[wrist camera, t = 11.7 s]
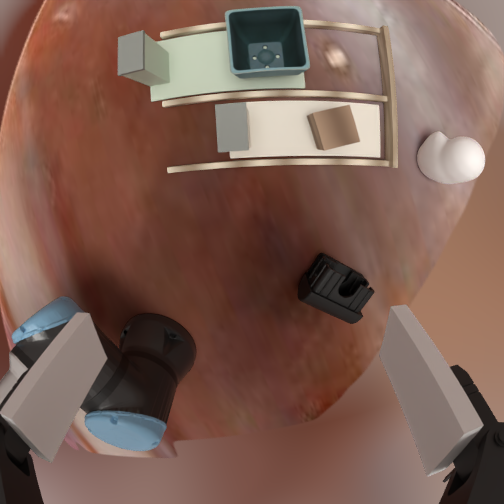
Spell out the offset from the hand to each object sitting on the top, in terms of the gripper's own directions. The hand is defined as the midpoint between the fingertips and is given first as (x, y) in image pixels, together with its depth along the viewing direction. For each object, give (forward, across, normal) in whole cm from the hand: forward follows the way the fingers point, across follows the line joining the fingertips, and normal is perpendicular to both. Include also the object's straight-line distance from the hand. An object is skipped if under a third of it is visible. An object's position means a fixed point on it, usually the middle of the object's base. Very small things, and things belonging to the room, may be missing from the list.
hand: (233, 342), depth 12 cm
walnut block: (+32, +11, +9) cm, 35 cm away
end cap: (+33, +12, -15) cm, 38 cm away
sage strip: (+33, -3, +20) cm, 38 cm away
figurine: (+33, +29, +6) cm, 44 cm away
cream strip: (+33, +8, +9) cm, 35 cm away
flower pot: (+32, +3, +20) cm, 38 cm away
